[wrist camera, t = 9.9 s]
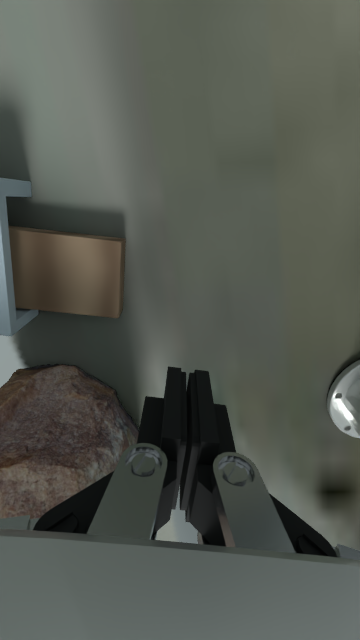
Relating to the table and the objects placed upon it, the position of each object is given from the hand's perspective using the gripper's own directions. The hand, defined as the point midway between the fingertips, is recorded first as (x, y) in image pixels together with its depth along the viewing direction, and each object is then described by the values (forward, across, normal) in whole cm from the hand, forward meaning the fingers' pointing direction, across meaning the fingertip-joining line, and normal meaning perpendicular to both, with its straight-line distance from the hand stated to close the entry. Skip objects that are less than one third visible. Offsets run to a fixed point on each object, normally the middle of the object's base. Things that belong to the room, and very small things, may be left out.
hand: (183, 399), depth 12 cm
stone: (+22, +11, +18) cm, 31 cm away
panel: (+22, +13, +1) cm, 26 cm away
